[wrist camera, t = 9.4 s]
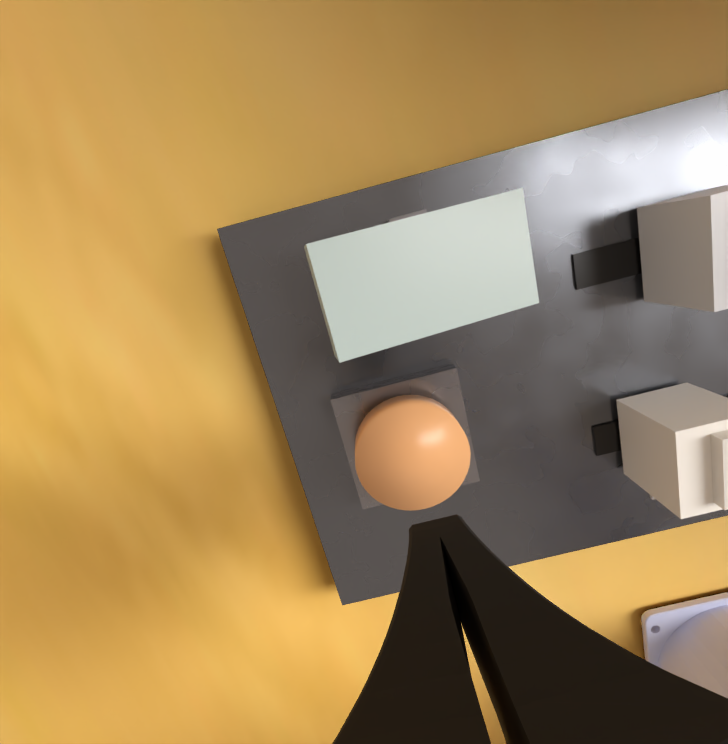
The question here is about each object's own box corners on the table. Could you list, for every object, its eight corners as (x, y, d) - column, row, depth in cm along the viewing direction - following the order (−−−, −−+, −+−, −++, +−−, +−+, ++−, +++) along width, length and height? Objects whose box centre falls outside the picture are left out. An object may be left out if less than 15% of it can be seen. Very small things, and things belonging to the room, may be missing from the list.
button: (466, 470, 18) (480, 495, 17) (368, 494, 19) (370, 521, 17) (446, 376, 17) (458, 392, 15) (342, 403, 18) (341, 421, 16)
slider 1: (719, 282, 17) (825, 289, 13) (644, 301, 17) (727, 314, 13) (716, 186, 16) (830, 165, 12) (636, 208, 16) (724, 192, 12)
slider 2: (690, 457, 19) (775, 507, 15) (623, 473, 19) (691, 527, 15) (686, 382, 18) (776, 416, 14) (616, 400, 18) (686, 438, 14)
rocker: (521, 300, 17) (539, 302, 15) (334, 356, 16) (339, 362, 14) (504, 194, 16) (522, 187, 14) (303, 246, 15) (306, 244, 13)
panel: (929, 444, 21) (997, 466, 19) (342, 582, 22) (342, 618, 20) (977, 26, 16) (1076, -10, 14) (228, 231, 17) (210, 227, 15)
